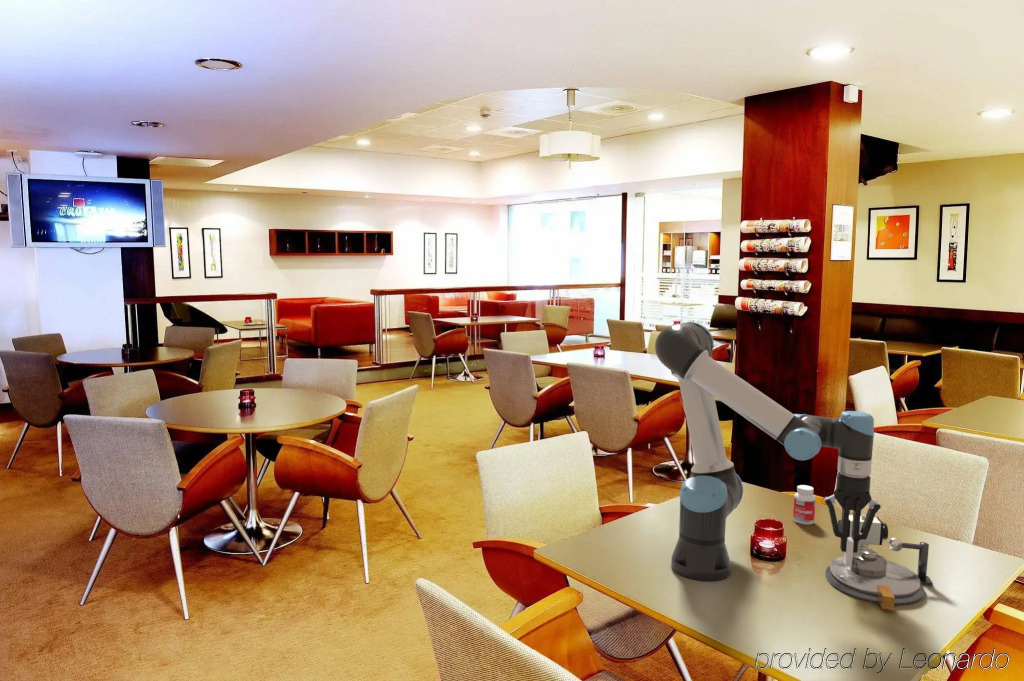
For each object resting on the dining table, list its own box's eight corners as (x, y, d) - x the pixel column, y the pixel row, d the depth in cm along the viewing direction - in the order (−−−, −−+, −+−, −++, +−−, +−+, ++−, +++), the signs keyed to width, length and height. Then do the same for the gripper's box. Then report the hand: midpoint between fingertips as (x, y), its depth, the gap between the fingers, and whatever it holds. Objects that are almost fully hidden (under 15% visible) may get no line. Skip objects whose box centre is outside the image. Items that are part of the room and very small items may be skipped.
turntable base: (832, 597, 167) (833, 592, 166) (819, 560, 188) (820, 555, 187) (935, 611, 160) (936, 606, 160) (910, 570, 181) (911, 566, 181)
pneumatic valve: (886, 562, 186) (889, 519, 185) (839, 558, 189) (842, 516, 187) (879, 554, 192) (882, 512, 190) (834, 550, 194) (837, 509, 193)
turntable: (840, 602, 162) (841, 590, 162) (824, 558, 186) (825, 547, 186) (937, 615, 156) (938, 603, 156) (907, 568, 181) (908, 557, 180)
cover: (853, 576, 171) (854, 556, 171) (847, 562, 179) (848, 544, 178) (889, 580, 169) (890, 561, 169) (881, 566, 177) (883, 548, 176)
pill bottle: (791, 523, 214) (793, 488, 213) (793, 516, 220) (795, 483, 218) (813, 526, 211) (815, 491, 210) (815, 520, 217) (816, 486, 215)
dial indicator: (887, 580, 176) (890, 540, 174) (884, 573, 180) (886, 534, 178) (932, 586, 173) (935, 545, 172) (927, 579, 177) (931, 539, 175)
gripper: (827, 475, 171) (822, 566, 173) (886, 480, 167) (879, 573, 170) (823, 467, 178) (818, 554, 181) (879, 471, 174) (873, 561, 177)
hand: (847, 563), depth 175 cm, fingers closed
